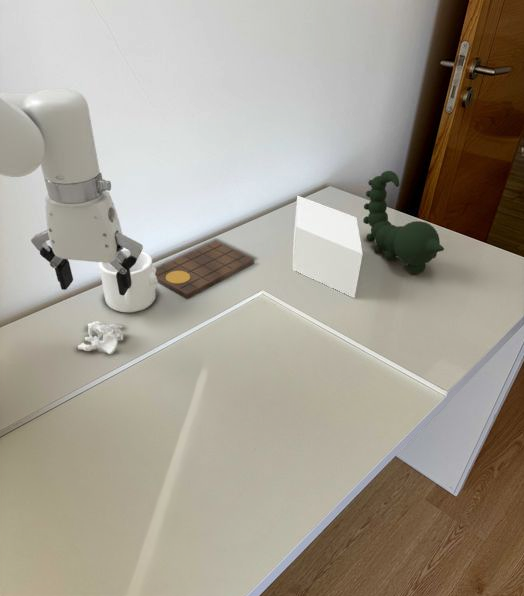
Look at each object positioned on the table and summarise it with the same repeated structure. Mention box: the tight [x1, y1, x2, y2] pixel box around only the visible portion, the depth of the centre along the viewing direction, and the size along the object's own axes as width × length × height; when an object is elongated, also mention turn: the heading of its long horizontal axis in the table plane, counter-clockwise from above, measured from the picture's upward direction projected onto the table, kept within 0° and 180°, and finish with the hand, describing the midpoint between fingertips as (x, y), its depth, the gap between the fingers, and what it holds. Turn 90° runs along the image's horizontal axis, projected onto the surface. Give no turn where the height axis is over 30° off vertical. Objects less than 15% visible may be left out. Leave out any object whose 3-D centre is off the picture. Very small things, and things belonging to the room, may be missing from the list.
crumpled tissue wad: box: [77, 320, 124, 355], centre depth 92 cm, size 8×4×7 cm
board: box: [155, 240, 255, 300], centre depth 114 cm, size 20×12×1 cm, turn 139°
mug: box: [98, 248, 158, 313], centre depth 100 cm, size 12×10×9 cm
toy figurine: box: [362, 170, 445, 275], centre depth 116 cm, size 9×19×25 cm
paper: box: [291, 195, 363, 299], centre depth 115 cm, size 14×29×10 cm, turn 23°
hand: (96, 287), depth 86 cm, fingers open, 9 cm apart
